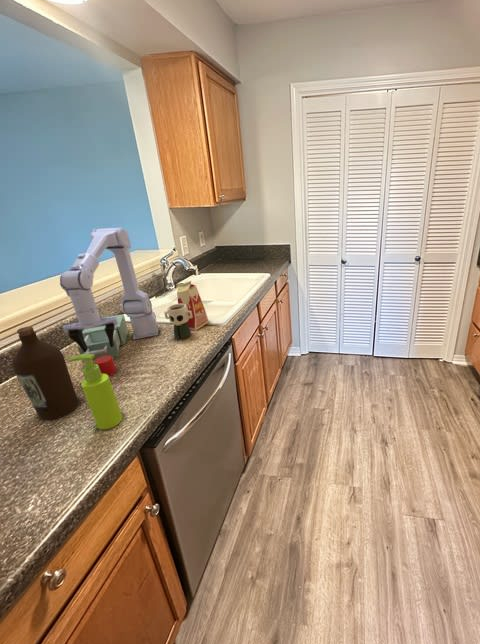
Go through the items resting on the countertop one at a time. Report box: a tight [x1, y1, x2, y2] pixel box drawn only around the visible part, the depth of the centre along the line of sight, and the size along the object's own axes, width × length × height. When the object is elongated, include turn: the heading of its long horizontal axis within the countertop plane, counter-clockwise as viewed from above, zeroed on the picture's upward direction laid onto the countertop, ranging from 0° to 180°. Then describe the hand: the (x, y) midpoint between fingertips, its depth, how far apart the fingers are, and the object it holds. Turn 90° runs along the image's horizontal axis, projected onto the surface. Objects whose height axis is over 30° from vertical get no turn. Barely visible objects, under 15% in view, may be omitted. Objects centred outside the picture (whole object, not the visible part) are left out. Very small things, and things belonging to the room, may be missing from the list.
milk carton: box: [175, 280, 210, 331], centre depth 136 cm, size 9×9×20 cm
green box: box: [82, 313, 129, 346], centre depth 129 cm, size 14×13×8 cm
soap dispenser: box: [67, 353, 123, 430], centre depth 81 cm, size 6×7×20 cm
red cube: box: [93, 355, 117, 377], centre depth 107 cm, size 5×5×5 cm
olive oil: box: [12, 326, 79, 421], centre depth 86 cm, size 11×11×25 cm
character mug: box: [163, 303, 193, 340], centre depth 128 cm, size 11×7×13 cm, turn 89°
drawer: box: [77, 329, 121, 363], centre depth 117 cm, size 17×11×6 cm, turn 21°
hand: (99, 348), depth 104 cm, fingers open, 7 cm apart
